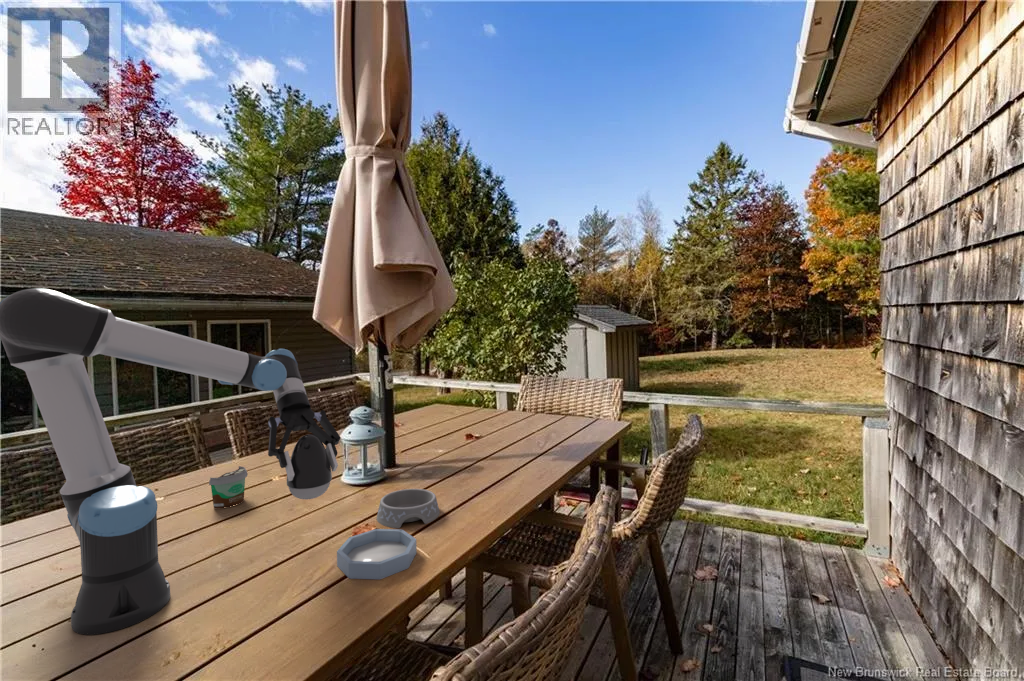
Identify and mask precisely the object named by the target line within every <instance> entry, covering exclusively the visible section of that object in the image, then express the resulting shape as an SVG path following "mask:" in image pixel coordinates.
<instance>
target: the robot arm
mask: <svg viewBox="0 0 1024 681" xmlns="http://www.w3.org/2000/svg"><path fill="white" fill-rule="evenodd" d="M0 341H1V344H2V345H3V348H4V350H5V353H6V356H7V358H8V361H9V363H10V366H13V367H15V368H18V369H19V370H22V371H24V372H25V374H26V377H27V381H28V382H29V385H30V387H31V391H32V393H33V395H34V398H35V401H36V404H37V406H38V409H39V411H40V414H41V418H42V420H43V422H44V425H45V427H46V430H47V432H48V435H49V438H50V441H51V443H52V446H53V448H54V451H55V453H56V455H57V456H56V457H57V459H58V463H59V464H60V467H61V470H62V472H63V475H64V478H65V483H63V485H62V487H61V488H60V489H59V493H60V496H61V499H62V501H63V504H64V507H65V510H66V512H67V519H68V521H69V524H70V525H71V526H72V528H73V530H74V532H75V534H76V536H77V539H78V542H79V547H80V564H81V566H80V567H81V584H80V588H79V591H78V594H77V596H76V600H75V605H74V606H73V608H72V610H71V614H70V623H71V625H70V626H71V630H72V631H73V632H74V633H77V634H79V635H87V636H88V635H99V634H101V635H102V634H108V633H110V632H115V631H119V630H122V629H125V628H127V627H131V626H133V625H136V624H138V623H140V622H142V621H144V620H146V619H148V618H150V617H151V616H153V615H155V614H156V613H157V612H159V611H161V610H162V609H163V608H164V607H165V606H166V605H167V604H168V603H169V601H170V599H171V585H170V582H169V580H167V579H166V577H165V573H164V571H163V569H162V567H161V564H160V562H159V546H158V545H159V543H158V517H157V516H158V515H157V514H158V513H157V512H158V502H157V501H158V500H156V494H155V492H154V491H153V490H152V489H151V488H150V487H147V486H144V485H139V486H137V484H136V483H137V482H136V480H135V478H134V475H133V473H132V468H131V467H130V466H129V465H126V464H123V463H120V462H119V460H118V457H117V454H116V451H115V448H114V446H113V443H112V440H111V437H110V433H109V431H108V428H107V425H106V422H105V419H104V417H103V414H102V411H101V408H100V405H99V403H98V400H97V397H96V393H95V391H94V388H93V385H92V383H91V380H90V376H89V374H88V371H87V368H86V366H85V362H84V361H83V359H84V357H87V358H92V357H95V356H97V355H102V356H103V355H104V356H106V357H112V358H116V359H122V360H126V361H130V362H136V363H139V364H144V365H148V366H149V365H150V366H154V367H158V368H161V369H162V368H163V369H167V370H172V371H175V372H179V373H180V372H181V373H185V374H190V375H194V376H198V377H203V378H208V379H213V380H217V382H218V383H219V384H221V385H230V386H234V385H235V386H236V385H239V386H243V387H246V388H247V387H248V388H252V389H256V390H259V391H264V392H271V391H272V392H273V395H274V399H275V403H276V407H277V410H278V413H279V417H274V416H270V417H269V418H268V422H267V427H268V429H269V438H268V439H269V440H268V450H267V451H268V452H267V455H268V457H271V458H272V457H273V456H274V457H276V459H277V460H278V463H279V466H280V468H281V469H285V472H286V477H287V476H288V480H289V481H292V480H293V477H294V475H295V474H294V471H293V467H292V463H291V460H290V459H291V456H290V453H289V451H288V450H286V446H287V444H288V441H289V437H290V435H291V432H292V431H293V432H297V431H304V430H306V431H307V432H308V433H311V434H312V435H315V436H317V437H318V438H319V439H320V440H321V442H322V443H323V445H324V446H326V447H325V449H326V452H327V455H328V459H329V462H330V467H331V473H333V472H336V471H337V469H338V466H339V465H338V464H339V463H338V460H337V459H336V458H337V456H338V450H337V448H336V447H337V446H338V444H339V442H340V440H341V436H340V434H339V433H338V431H337V430H336V429H335V427H334V426H333V424H332V423H331V421H330V420H329V419H328V417H327V414H326V411H325V410H320V411H319V412H315V411H313V409H312V408H311V407H312V406H311V404H310V400H309V397H308V395H307V391H306V387H305V386H304V383H303V379H302V375H301V374H300V369H299V366H298V365H299V364H298V362H297V360H296V358H295V356H294V353H293V352H292V351H291V350H288V349H285V348H278V349H273V350H271V351H269V352H268V353H267V354H265V356H259V355H255V354H252V353H247V352H245V351H240V350H237V349H233V348H230V347H226V346H223V345H220V344H215V343H212V342H208V341H205V340H201V339H197V338H193V337H191V336H190V337H189V336H186V335H183V334H180V333H176V332H173V331H168V330H165V329H161V328H158V327H157V328H156V327H154V326H150V325H146V324H142V323H138V322H136V321H131V320H128V319H126V318H125V319H124V318H120V317H117V316H115V315H114V314H113V312H112V311H111V309H107V308H104V307H101V306H99V305H94V304H91V303H89V302H86V301H83V300H80V299H78V298H76V297H73V296H71V295H68V294H65V293H63V292H60V291H57V290H53V289H49V288H43V287H42V288H38V287H36V288H26V289H21V290H18V291H16V292H13V293H12V294H10V295H8V296H6V297H5V298H3V299H2V300H1V301H0ZM314 419H316V420H317V421H315V420H314ZM317 422H319V424H320V425H321V427H322V428H321V427H320V426H319V425H318V424H317ZM279 424H282V425H283V426H284V427H286V428H285V431H284V434H283V437H282V439H281V440H282V441H281V442H280V445H279V448H278V447H277V433H278V432H277V431H278V427H279ZM285 450H286V451H285Z"/></svg>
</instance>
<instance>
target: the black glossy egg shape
mask: <svg viewBox="0 0 1024 681" xmlns="http://www.w3.org/2000/svg"><path fill="white" fill-rule="evenodd" d="M290 460H291V463H292V467H293V471H294V474H295V475H294V477H293V480H292V481H289V480H288V476H287V475H286V486H287V487H288V489H289V492H290V494H291V495H292V496H293V497H295V498H296V499H299V500H313V499H316V498H318V497H321V496H322V495H323V494H324V493H326V492H327V490H328V488H330V485H331V482H332V479H333V476H332V475H333V474H332V473H333V472H332V469H331V466H330V462H329V459H328V455H327V452H326V447H325V444H323V443H322V442H321V440H320V439H319V438H318V437H317V436H315V435H314V434H312V433H311V434H305V435H303V436H301V437H300V438H299V439H298V440H297V442H296V443H295V445H294V448H293V450H292V453H291V456H290Z"/></svg>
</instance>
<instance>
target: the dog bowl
mask: <svg viewBox="0 0 1024 681" xmlns="http://www.w3.org/2000/svg"><path fill="white" fill-rule="evenodd" d="M440 511H441V510H440V508H439V504H438V500H437V495H436V493H434V492H432V491H431V490H428V489H423V488H404V489H400V490H395V491H391V492H389V493H387V494H385V495H384V496H382V497H381V499H380V502H379V505H378V510H377V514H376V522H377V523H378V524H380V525H381V526H385V527H388V528H390V529H392V528H393V529H400V528H401V527H402V525H403V523H410V522H411V523H412V522H416V521H420V520H422V522H423V523H424V524H425V525H427V524H429V523H431V522H434V520H436V519H437V518H438V517H439V516H440V514H441V513H440Z"/></svg>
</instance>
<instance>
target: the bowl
mask: <svg viewBox="0 0 1024 681" xmlns="http://www.w3.org/2000/svg"><path fill="white" fill-rule="evenodd" d="M416 555H417V538H415V537H414V536H413V535H411V534H409V533H408V532H407V531H405V530H404V529H400V528H393V529H392V528H374V529H371V530H368V531H365V532H361V533H359V534H355V535H352V536H350V537H348V538H347V539H346V540H345V542H344V543H343V544H342V545H341V546H340V547H339V548H338V549H337V551H336V566H337V567H338V568H339V570H340V571H342V573H343V574H344V575H345V576H346V577H347V578H348V579H352V580H355V579H358V580H382V579H385V578H387V577H390V576H392V575H395V574H398V573H400V572H402V571H406V570H407V569H409V568H410V566H411V564H412V563H413V560H414V559H415V557H416Z"/></svg>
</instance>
